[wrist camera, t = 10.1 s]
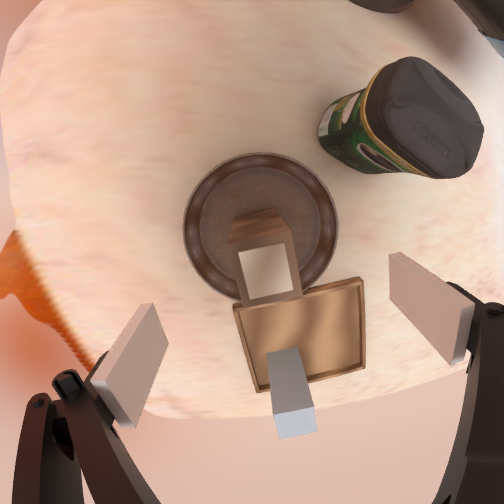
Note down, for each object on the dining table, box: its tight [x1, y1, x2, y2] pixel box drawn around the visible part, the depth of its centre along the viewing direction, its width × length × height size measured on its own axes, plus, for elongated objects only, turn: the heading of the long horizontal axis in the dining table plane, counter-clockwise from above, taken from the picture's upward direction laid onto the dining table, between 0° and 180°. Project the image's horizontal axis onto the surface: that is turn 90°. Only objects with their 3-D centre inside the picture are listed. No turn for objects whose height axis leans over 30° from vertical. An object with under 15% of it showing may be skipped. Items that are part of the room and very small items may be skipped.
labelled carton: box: [227, 207, 303, 308], centre depth 26 cm, size 4×5×12 cm
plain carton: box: [266, 347, 317, 439], centre depth 34 cm, size 4×5×12 cm
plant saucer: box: [183, 153, 338, 304], centre depth 34 cm, size 18×18×3 cm
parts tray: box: [233, 277, 366, 393], centre depth 38 cm, size 17×15×2 cm
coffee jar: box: [318, 56, 484, 179], centre depth 23 cm, size 10×8×19 cm
